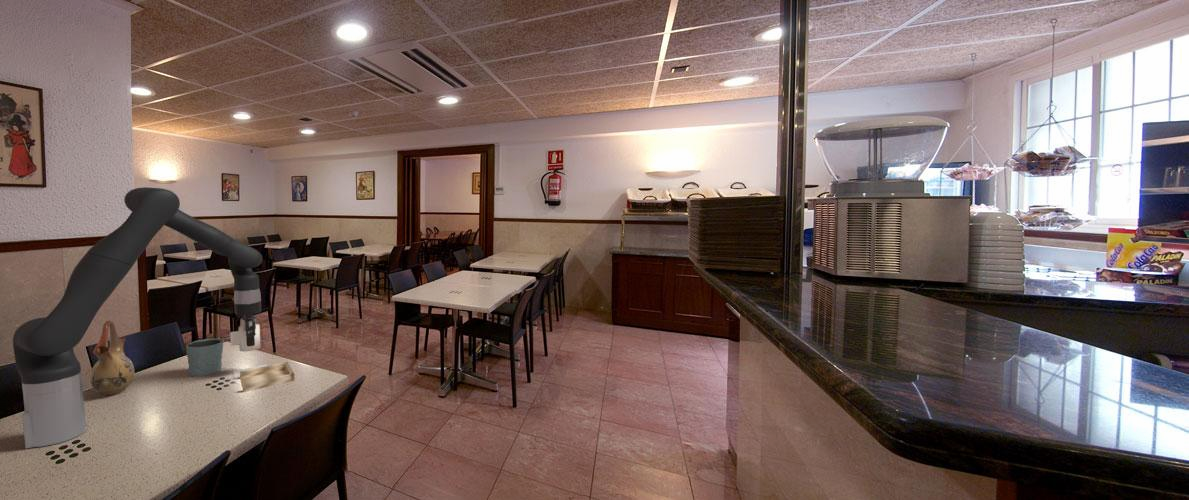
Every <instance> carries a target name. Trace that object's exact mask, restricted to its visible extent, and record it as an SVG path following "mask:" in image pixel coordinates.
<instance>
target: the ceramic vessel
mask: <svg viewBox="0 0 1189 500" xmlns="http://www.w3.org/2000/svg"><path fill="white" fill-rule="evenodd" d="M102 326H103V327H102V332H101V336H100V339H99V340H98V343H97V344H96V345H95V347H94V349H93V351H92V353H93V355H95V356H96V357H97V358H98V361H96V362H95V364H94V365H93V367H92V369H91V371H90V374H89V379H90V380H89V381H90V385H91V387H92V388H93V390H94V391H96V392H97V393H99V394H100V395H102V396H114V395H118V394H121V393H122V392H124V391H125V390H126V389H127V388H128V387H129V386H130V385H131V383H132V382H133V378H134V376H135V366H134V363H133V362H132V360H131V359H130V358H129V357H127V356H126V354H125V352H124V351H125V350H124V345H125V341H126V337H119V335H118V333H117V330H116V326H115V324H114V322H113V321H112V320H106V321H105V322H104V324H103V325H102ZM108 345H109V347H108Z"/></svg>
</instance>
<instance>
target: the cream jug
mask: <svg viewBox="0 0 1189 500" xmlns="http://www.w3.org/2000/svg"><path fill="white" fill-rule="evenodd" d="M260 328H261V327H260V323H256V329H255V333H256V334H255V336H254V339H255V345H254V346H249V347H248V346H247V339H246V331H244V328H243V325H239V326H238V330H235V331H230V332H229V333H230V334H229V335H230V346H231V347H232V346H238V347H239V352H244V353H245V352H252V351H253V352H254V351H256V350H258V349H261V347H262V346H261V329H260ZM248 333H253V330H250V331H248Z"/></svg>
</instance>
